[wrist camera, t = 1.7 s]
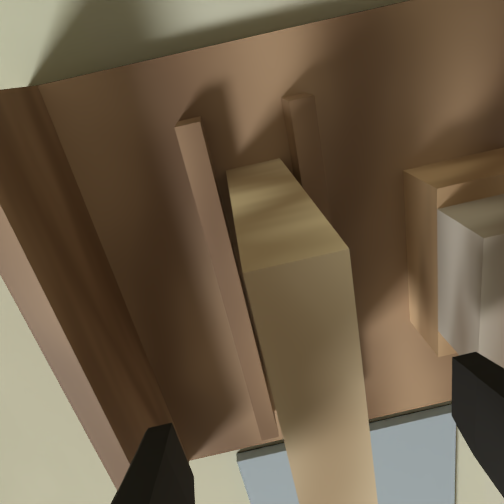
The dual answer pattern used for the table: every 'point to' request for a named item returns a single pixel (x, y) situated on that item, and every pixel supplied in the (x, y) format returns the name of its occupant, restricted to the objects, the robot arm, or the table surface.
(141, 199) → the walnut rack
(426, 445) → the slate mat
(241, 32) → the table surface
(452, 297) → the upper offcut
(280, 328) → the plywood sheet
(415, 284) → the block
